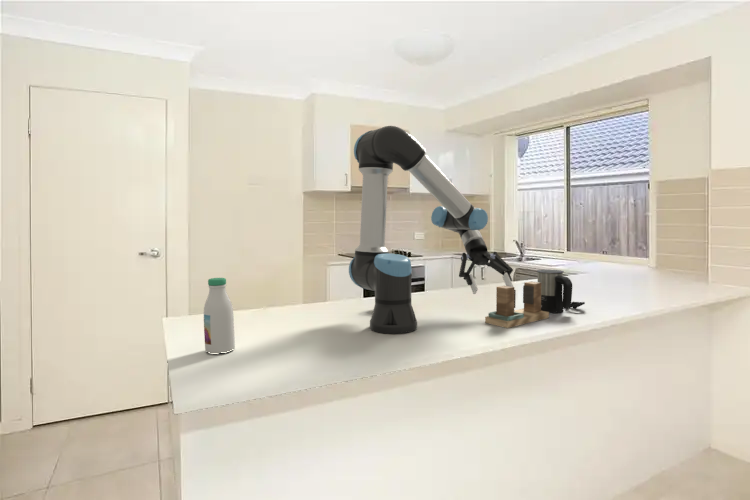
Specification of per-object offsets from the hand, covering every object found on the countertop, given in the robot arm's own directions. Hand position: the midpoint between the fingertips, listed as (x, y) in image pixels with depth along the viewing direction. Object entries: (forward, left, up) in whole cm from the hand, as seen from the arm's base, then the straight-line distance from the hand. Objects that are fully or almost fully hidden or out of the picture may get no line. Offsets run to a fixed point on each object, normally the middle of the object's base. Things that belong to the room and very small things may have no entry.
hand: (493, 290), depth 158 cm
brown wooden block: (-3, -8, -7) cm, 11 cm away
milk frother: (+28, -8, -10) cm, 30 cm away
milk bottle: (-88, +20, -10) cm, 91 cm away
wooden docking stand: (+3, -8, -9) cm, 13 cm away
